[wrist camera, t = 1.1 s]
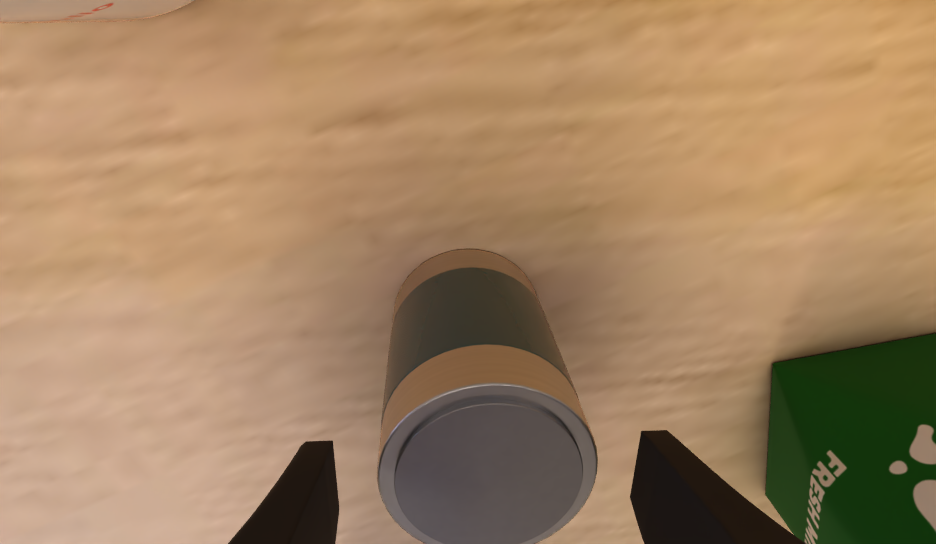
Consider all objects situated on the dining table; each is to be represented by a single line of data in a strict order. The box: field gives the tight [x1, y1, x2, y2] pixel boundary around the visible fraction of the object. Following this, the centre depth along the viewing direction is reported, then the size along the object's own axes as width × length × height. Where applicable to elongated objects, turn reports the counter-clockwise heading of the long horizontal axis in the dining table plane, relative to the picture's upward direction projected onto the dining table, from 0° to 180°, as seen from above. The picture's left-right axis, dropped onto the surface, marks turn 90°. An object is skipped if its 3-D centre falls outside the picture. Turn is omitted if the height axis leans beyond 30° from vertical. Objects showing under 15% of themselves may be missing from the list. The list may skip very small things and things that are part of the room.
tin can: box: [377, 249, 598, 544], centre depth 17 cm, size 5×5×8 cm
